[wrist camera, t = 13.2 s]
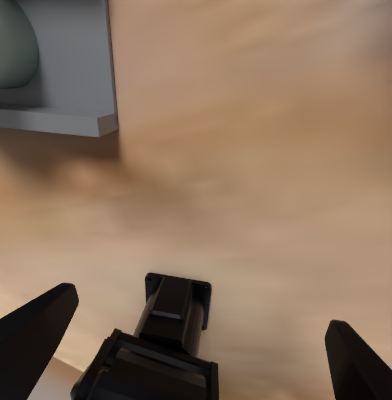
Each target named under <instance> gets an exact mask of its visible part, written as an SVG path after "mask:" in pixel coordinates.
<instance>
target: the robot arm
mask: <svg viewBox="0 0 392 400" xmlns="http://www.w3.org/2000/svg"><path fill="white" fill-rule="evenodd" d="M151 278H152V279H151ZM205 287H207V288H205ZM145 288H146V306H145V309H144V311H143V313H142V316H141V318H140V320H139V323H138V325H137V328H136V330H135V332H134V335H133V336H132V335H129V334H127V333H124V332H121V331H122V330H119V329H116V328H115V329H114V331H113V333H112V334H111V336H110V337H108V338H107V339H105V340H104V342H103V344H102V346H101V347H100V349H99V351H98V353H97V355H96V357H95V358H94V360H93V361H92V363H91V364H90V365H89V367H88V368H87V369H86V370H85V372H84V373H83V374H82V375H81V377H80V378H79V379H78V381H77V382H76V383H75V384H74V386H73V388H72V391H71V393H70V395H71V400H219V386H218V363H215V362H212V361H211V362H208V361H205V360H202V359H199V358H197V354H198V348H199V342H200V336H201V330H206V328H207V322H208V313H209V305H210V296H211V288H212V286H211V284H210V283H208V282H203V281H197V280H191V279H185V278H179V277H173V276H167V275H161V274H155V273H148V274H147V275H146V277H145ZM78 303H79V298H78V295H77V291H76V288H75V285H74V284H71V283H61V284H59V285H58V286H56V287H54V288H52V289H51V290H49V291H47V292H45V293H44V294H42V295H40V296H39V297H37V298H35V299H33V300H32V301H30V302H28V303H27V304H25V305H23V306H21V307H20V308H18V309H16V310H14V311H13V312H11V313H9V314H8V315H6V316H4V317H2V318H1V319H0V400H27V398H28V397H29V395H30V393H31V392H32V390H33V388H34V386H35V385H36V383H37V382H38V380H39V378H40V376H41V375H42V373H43V371H44V370H45V368H46V366H47V365H48V363H49V361H50V360H51V358H52V356H53V355H54V353H55V351H56V349H57V348H58V346H59V344H60V342H61V340H62V338H63V336H64V334H65V331H66V329H67V327H68V325H69V323H70V321H71V319H72V317H73V315H74V313H75V311H76V308H77V306H78ZM325 346H326V351H327V357H328V362H329V368H330V373H331V379H332V384H333V390H334V395H335V399H336V400H392V370H391V369H390V367H389V366H388V365H387V364H386V363H385V362H384V361H383V360H382V359H381V358H380V357H379V356H378V355H377V354H376V353H375V352H374V351H373V349H372V348H371V347H370V346H369V345H368V344H367V343H366V342H365V341H364V340H363V339H362V338H361V337H360V336H359V335H358V334H357V333H356V331H355V330H354V329H353V328H352V327H351V326H350V325H349V324H348V323H347V322H345V321H340V320H331V321H330V324H329V327H328V329H327V332H326V335H325Z"/></svg>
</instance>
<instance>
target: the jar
mask: <svg viewBox="0 0 392 400" xmlns="http://www.w3.org/2000/svg"><path fill="white" fill-rule="evenodd" d="M37 65H38V45H37V40H36V36H35V33H34V30H33V28H32V25H31V23H30V21H29V19H28V17H27V16H26V14H25V12H24V11H23V9H22V8H21V7H20V5H19V4H18V3H17V2H16V1H15V0H0V90H3V89H15V88H20V87H23V86H25V85H26V84H27V83H29V82H30V81H31V79H32V78H33V76H34V74H35V72H36V69H37Z"/></svg>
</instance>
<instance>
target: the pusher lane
mask: <svg viewBox="0 0 392 400" xmlns="http://www.w3.org/2000/svg"><path fill="white" fill-rule="evenodd" d="M15 1H16V2H17V3H18V4H19V5H20V7H21V8H22V9H23V11H24V12H25V14H26V16H27V17H28V19H29V21H30V23H31V25H32V28H33V30H34V33H35V36H36V40H37V45H38V65H37V69H36V72H35V74H34V76H33V78H32V79H31V81H30V82H29V83H27V84H26V85H25V86H23V87H20V88H15V89H3V90H0V127H2V128H12V129H22V130H31V131H41V132H51V133H61V134H71V135H80V136H90V137H101V136H104V135H106V134H108V133H111V132H113V131H115V130H118V118H117V106H116V94H115V82H114V70H113V58H112V46H111V34H110V23H109V11H108V0H15Z"/></svg>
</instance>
